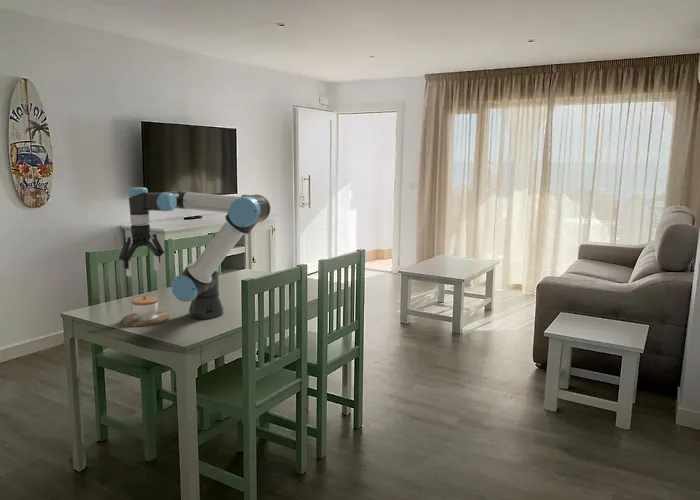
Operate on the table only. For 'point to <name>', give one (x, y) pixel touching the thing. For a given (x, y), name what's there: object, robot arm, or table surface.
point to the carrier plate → (156, 319)
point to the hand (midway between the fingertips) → (143, 273)
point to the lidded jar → (145, 307)
